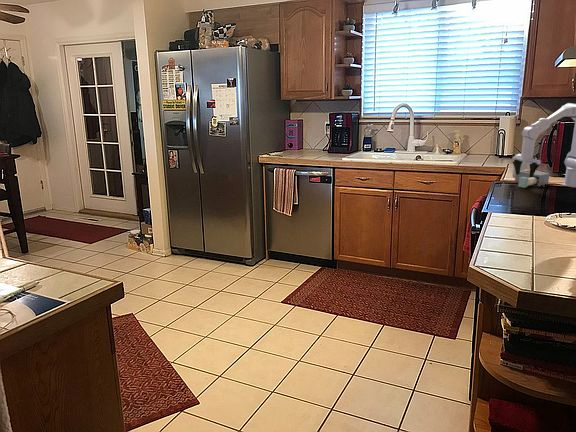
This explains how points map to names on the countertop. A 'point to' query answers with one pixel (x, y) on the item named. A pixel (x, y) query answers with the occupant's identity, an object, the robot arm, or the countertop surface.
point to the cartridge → (527, 181)
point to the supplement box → (523, 166)
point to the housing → (541, 176)
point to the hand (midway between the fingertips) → (524, 175)
